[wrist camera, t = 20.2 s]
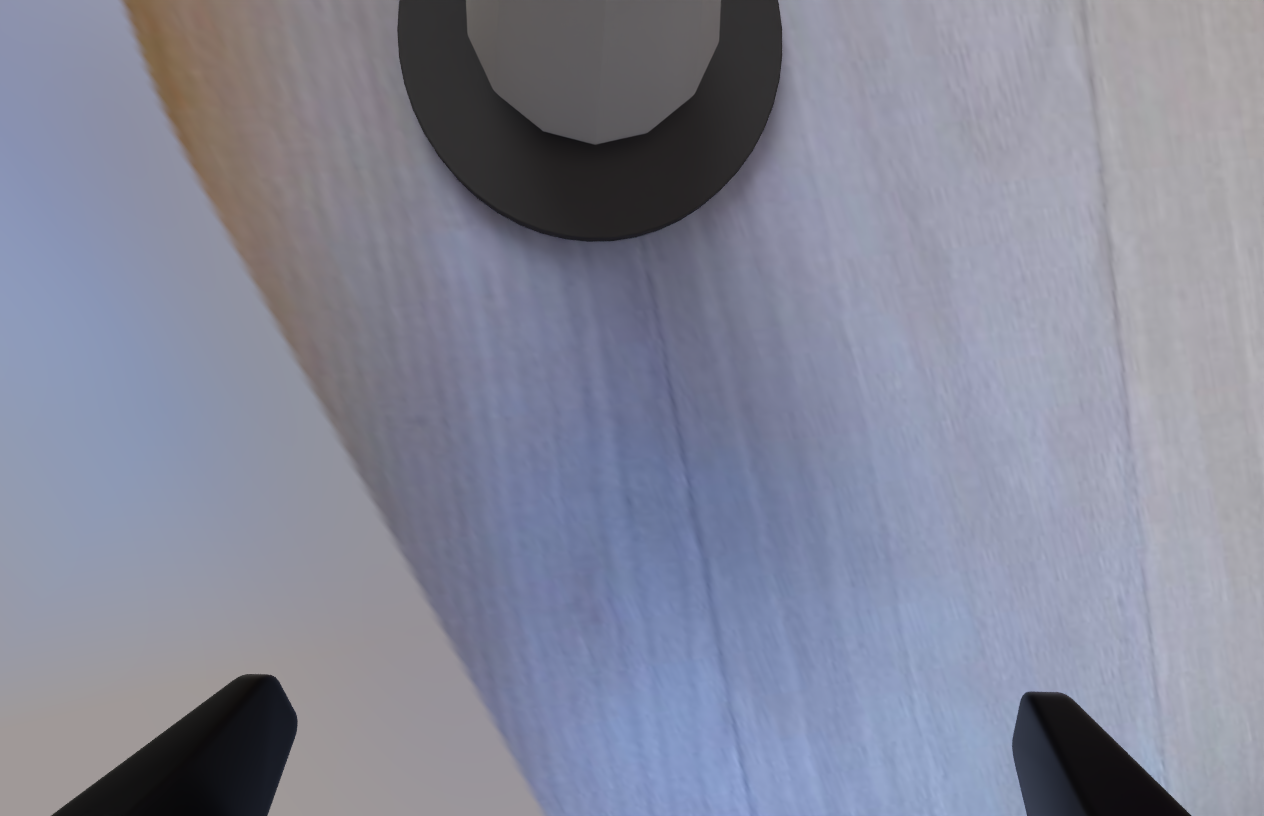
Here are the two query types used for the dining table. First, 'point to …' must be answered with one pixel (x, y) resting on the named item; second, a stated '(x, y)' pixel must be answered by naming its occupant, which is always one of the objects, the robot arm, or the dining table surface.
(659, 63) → the salt shaker
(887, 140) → the dining table surface
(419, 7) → the disc
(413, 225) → the dining table surface
